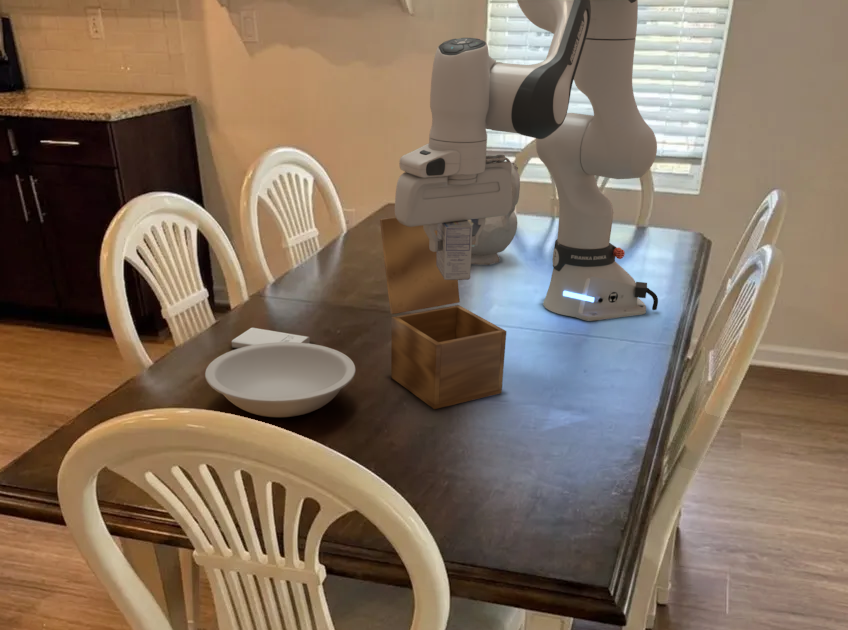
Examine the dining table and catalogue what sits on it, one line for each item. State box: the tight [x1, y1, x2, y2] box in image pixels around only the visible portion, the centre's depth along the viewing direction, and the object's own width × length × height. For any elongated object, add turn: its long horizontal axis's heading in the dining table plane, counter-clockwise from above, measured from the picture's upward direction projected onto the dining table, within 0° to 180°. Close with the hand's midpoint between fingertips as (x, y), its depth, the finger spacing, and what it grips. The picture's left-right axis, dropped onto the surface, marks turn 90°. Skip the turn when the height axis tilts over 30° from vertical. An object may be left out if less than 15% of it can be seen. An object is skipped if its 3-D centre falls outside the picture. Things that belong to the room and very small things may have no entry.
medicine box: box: [436, 220, 472, 281], centre depth 138 cm, size 8×4×9 cm, turn 9°
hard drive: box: [231, 327, 311, 349], centre depth 163 cm, size 2×8×12 cm
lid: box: [379, 217, 461, 315], centre depth 146 cm, size 16×14×1 cm
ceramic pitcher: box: [468, 162, 521, 266], centre depth 212 cm, size 22×20×25 cm
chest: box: [390, 304, 507, 410], centre depth 147 cm, size 15×14×11 cm
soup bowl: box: [204, 342, 356, 418], centre depth 139 cm, size 24×24×7 cm
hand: (453, 248), depth 138 cm, fingers closed on medicine box, 5 cm apart
